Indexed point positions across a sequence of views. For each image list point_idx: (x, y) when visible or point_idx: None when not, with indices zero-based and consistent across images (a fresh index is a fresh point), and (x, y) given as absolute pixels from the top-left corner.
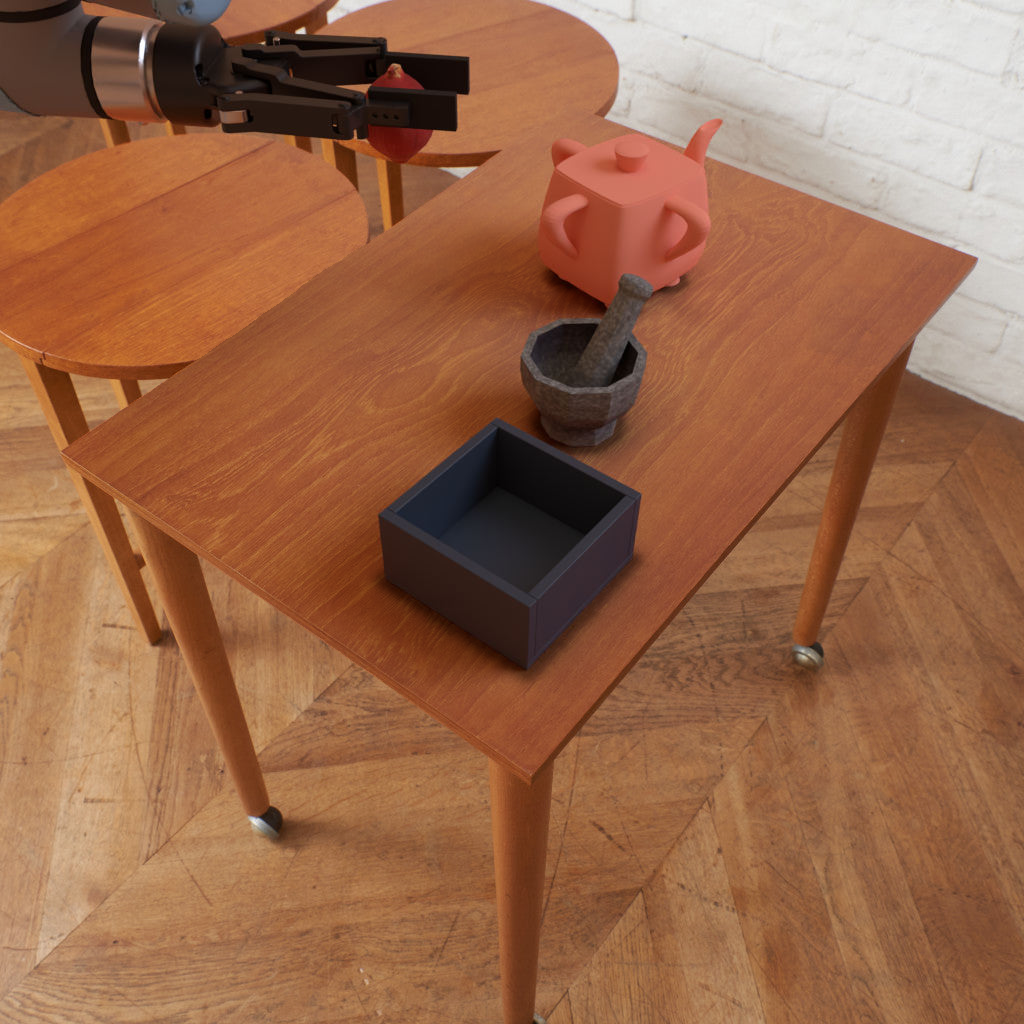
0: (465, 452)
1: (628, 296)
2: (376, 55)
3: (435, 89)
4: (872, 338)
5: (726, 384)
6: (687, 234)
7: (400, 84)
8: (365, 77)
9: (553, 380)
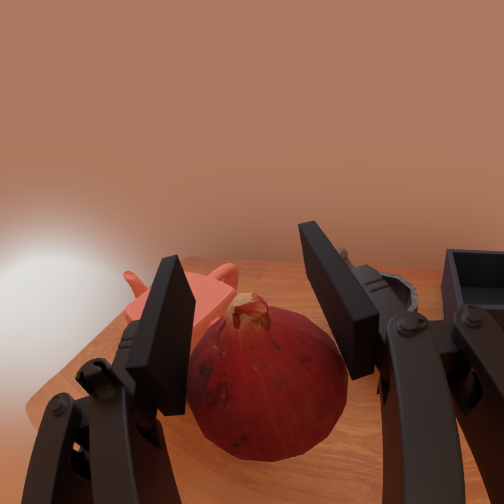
0: (490, 305)
1: (347, 258)
2: (127, 397)
3: (189, 332)
4: (245, 265)
5: (303, 296)
6: (234, 279)
7: (274, 311)
8: (160, 452)
9: (411, 298)
